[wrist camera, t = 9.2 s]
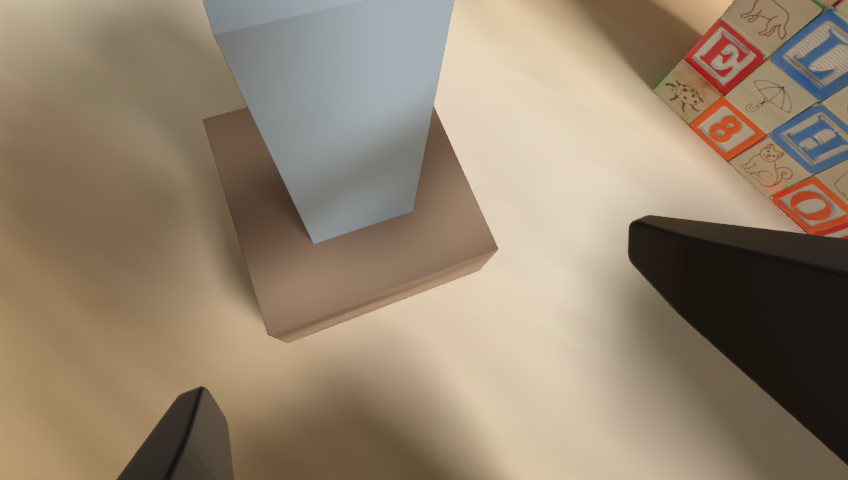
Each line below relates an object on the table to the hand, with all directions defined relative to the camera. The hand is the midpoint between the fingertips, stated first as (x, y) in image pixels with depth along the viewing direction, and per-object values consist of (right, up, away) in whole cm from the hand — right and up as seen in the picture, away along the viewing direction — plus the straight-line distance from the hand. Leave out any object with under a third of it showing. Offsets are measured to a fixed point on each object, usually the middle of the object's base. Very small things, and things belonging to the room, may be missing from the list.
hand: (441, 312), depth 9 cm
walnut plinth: (-4, +3, +15) cm, 15 cm away
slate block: (-4, +4, +11) cm, 12 cm away
